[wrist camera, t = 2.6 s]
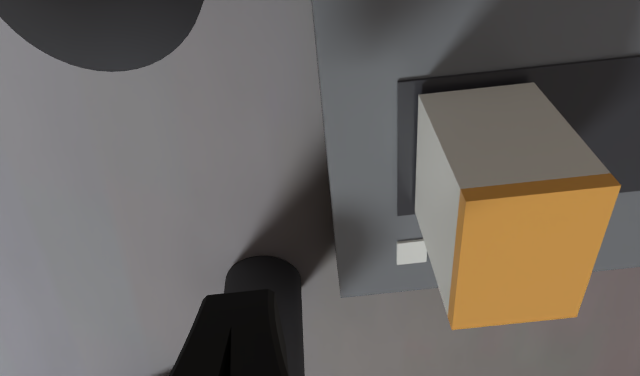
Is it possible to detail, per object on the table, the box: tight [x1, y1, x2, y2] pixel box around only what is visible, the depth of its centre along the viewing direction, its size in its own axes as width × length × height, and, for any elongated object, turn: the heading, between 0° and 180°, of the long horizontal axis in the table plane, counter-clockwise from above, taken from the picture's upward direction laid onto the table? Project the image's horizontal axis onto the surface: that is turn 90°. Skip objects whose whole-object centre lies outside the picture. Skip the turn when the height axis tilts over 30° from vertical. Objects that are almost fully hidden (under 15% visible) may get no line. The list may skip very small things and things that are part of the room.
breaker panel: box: [311, 0, 640, 298], centre depth 16 cm, size 14×12×2 cm
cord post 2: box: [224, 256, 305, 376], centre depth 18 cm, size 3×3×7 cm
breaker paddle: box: [415, 82, 621, 330], centre depth 13 cm, size 3×4×4 cm
